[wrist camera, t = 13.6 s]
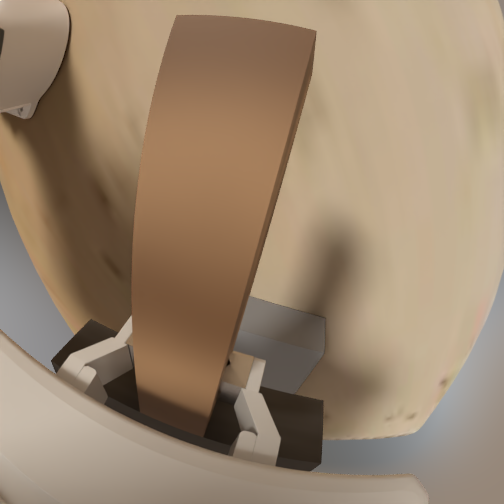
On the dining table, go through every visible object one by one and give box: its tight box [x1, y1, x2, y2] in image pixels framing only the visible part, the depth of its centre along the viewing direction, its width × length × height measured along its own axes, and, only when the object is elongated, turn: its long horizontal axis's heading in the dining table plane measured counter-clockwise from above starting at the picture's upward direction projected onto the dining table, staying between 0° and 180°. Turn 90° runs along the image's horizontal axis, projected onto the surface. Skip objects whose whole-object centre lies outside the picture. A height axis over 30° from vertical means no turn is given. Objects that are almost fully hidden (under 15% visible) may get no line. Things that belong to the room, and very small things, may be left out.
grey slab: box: [233, 296, 325, 394], centre depth 32 cm, size 20×14×5 cm
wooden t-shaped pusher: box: [51, 15, 323, 471], centre depth 9 cm, size 16×14×4 cm
